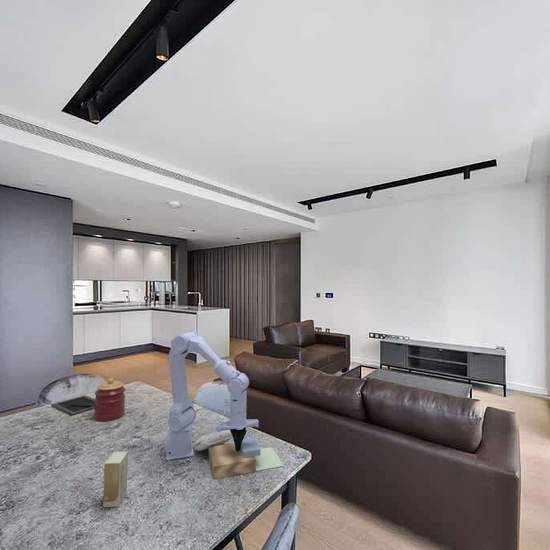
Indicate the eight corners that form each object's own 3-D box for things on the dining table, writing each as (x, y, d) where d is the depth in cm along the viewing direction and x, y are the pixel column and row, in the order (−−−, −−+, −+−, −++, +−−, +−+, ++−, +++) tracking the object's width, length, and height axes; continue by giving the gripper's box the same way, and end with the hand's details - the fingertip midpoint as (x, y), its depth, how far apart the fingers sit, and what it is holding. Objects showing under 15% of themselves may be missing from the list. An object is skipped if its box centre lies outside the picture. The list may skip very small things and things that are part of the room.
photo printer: (231, 425, 119) (200, 434, 111) (234, 437, 117) (203, 447, 109) (220, 432, 125) (191, 442, 118) (223, 444, 123) (193, 454, 116)
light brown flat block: (213, 479, 100) (213, 466, 100) (208, 458, 112) (208, 446, 112) (255, 471, 104) (255, 459, 104) (246, 452, 117) (246, 441, 117)
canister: (130, 414, 149) (131, 377, 150) (103, 424, 138) (104, 384, 139) (115, 408, 156) (116, 372, 157) (88, 417, 145) (89, 379, 146)
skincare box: (112, 493, 92) (113, 451, 93) (127, 492, 93) (128, 450, 93) (102, 508, 86) (103, 463, 87) (118, 507, 86) (119, 462, 87)
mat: (255, 471, 104) (255, 470, 104) (246, 452, 117) (246, 451, 117) (283, 466, 107) (283, 465, 108) (272, 447, 120) (272, 447, 120)
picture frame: (105, 406, 160) (84, 398, 171) (105, 402, 160) (84, 394, 171) (71, 417, 147) (51, 407, 158) (71, 412, 147) (51, 403, 158)
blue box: (243, 458, 105) (243, 452, 105) (237, 445, 114) (237, 439, 114) (260, 455, 107) (260, 449, 107) (253, 442, 115) (253, 437, 116)
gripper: (219, 417, 104) (218, 459, 103) (261, 412, 108) (260, 452, 108) (216, 409, 110) (215, 448, 110) (255, 404, 115) (255, 442, 114)
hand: (237, 449), depth 109 cm, fingers closed
